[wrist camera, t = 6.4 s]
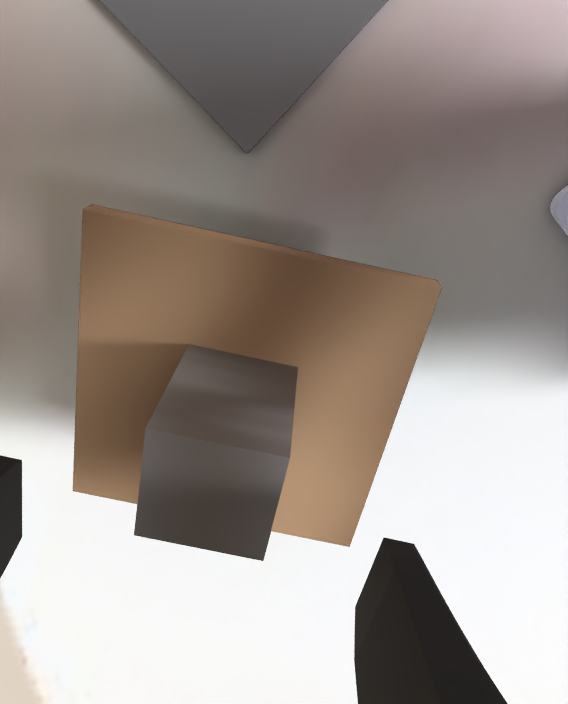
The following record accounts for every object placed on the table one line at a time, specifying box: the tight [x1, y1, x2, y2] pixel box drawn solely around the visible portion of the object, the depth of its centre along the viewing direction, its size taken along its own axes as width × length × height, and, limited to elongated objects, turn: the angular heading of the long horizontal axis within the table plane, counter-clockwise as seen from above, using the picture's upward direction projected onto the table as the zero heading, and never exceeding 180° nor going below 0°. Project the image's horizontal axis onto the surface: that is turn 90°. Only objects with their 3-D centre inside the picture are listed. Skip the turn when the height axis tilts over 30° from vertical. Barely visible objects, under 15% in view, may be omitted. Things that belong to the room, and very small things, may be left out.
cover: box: [73, 205, 442, 561], centre depth 14 cm, size 9×9×5 cm
